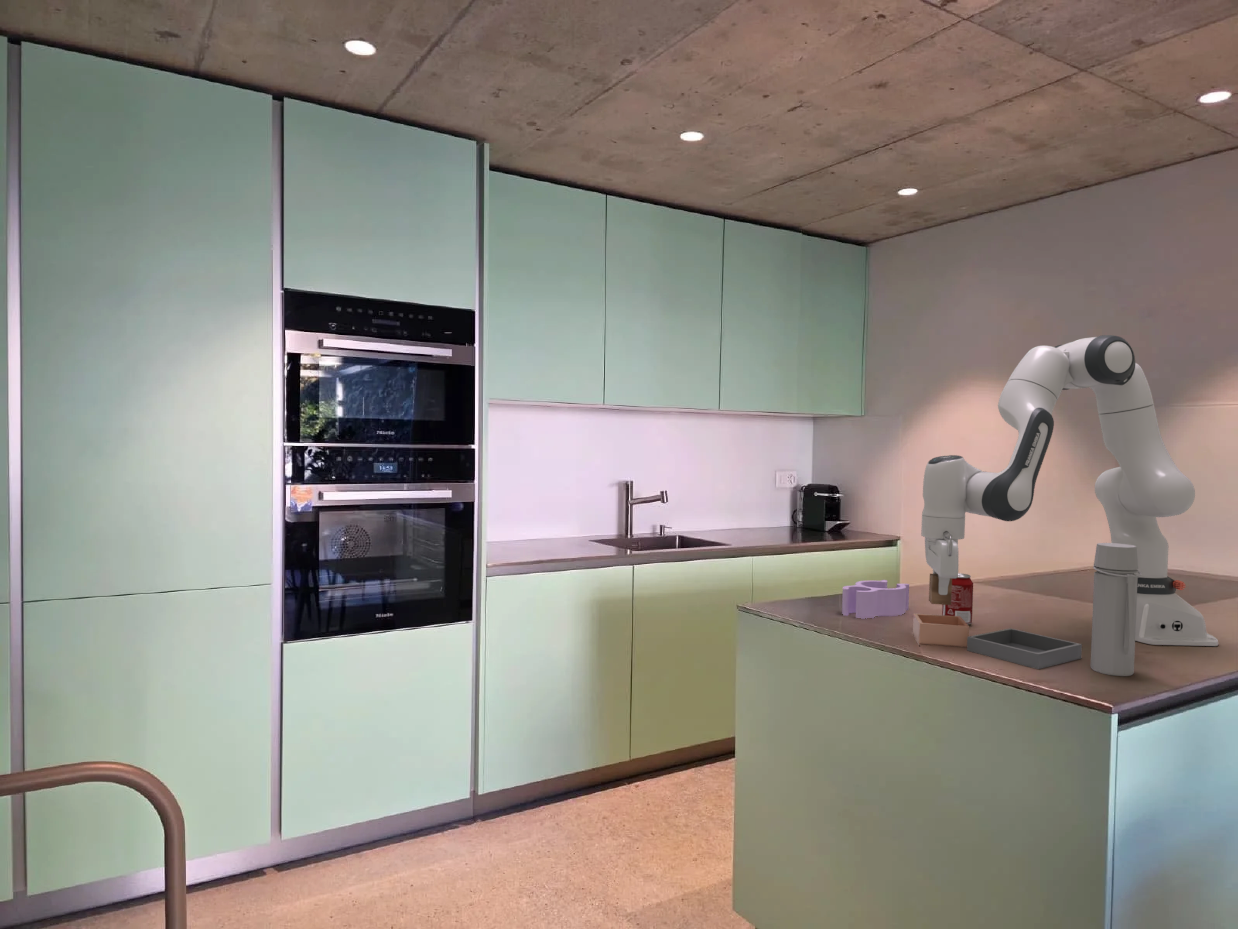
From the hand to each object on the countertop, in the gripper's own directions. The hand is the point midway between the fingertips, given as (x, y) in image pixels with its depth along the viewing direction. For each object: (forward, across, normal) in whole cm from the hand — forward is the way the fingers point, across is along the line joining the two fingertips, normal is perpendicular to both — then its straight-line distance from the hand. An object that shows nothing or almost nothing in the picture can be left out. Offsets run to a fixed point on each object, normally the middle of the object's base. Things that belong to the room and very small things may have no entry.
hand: (940, 592), depth 178 cm
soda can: (+11, +20, -7) cm, 24 cm away
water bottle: (+11, -17, -29) cm, 36 cm away
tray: (+11, -8, -15) cm, 21 cm away
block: (+2, 0, 0) cm, 2 cm away
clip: (+12, +28, +11) cm, 33 cm away
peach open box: (+11, 0, 0) cm, 11 cm away
